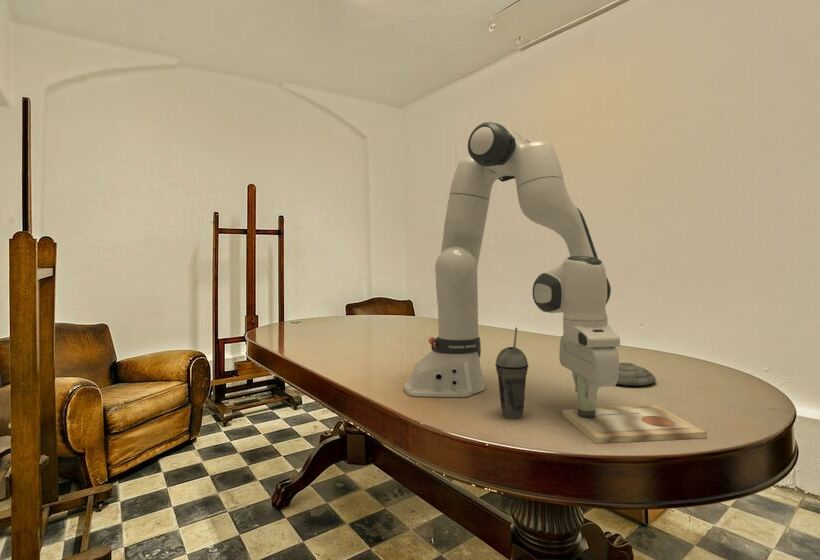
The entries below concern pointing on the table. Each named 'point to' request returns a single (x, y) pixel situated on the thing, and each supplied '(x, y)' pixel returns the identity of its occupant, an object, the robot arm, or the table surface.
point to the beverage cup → (512, 380)
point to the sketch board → (633, 425)
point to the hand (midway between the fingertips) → (585, 396)
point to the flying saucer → (634, 375)
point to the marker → (584, 400)
